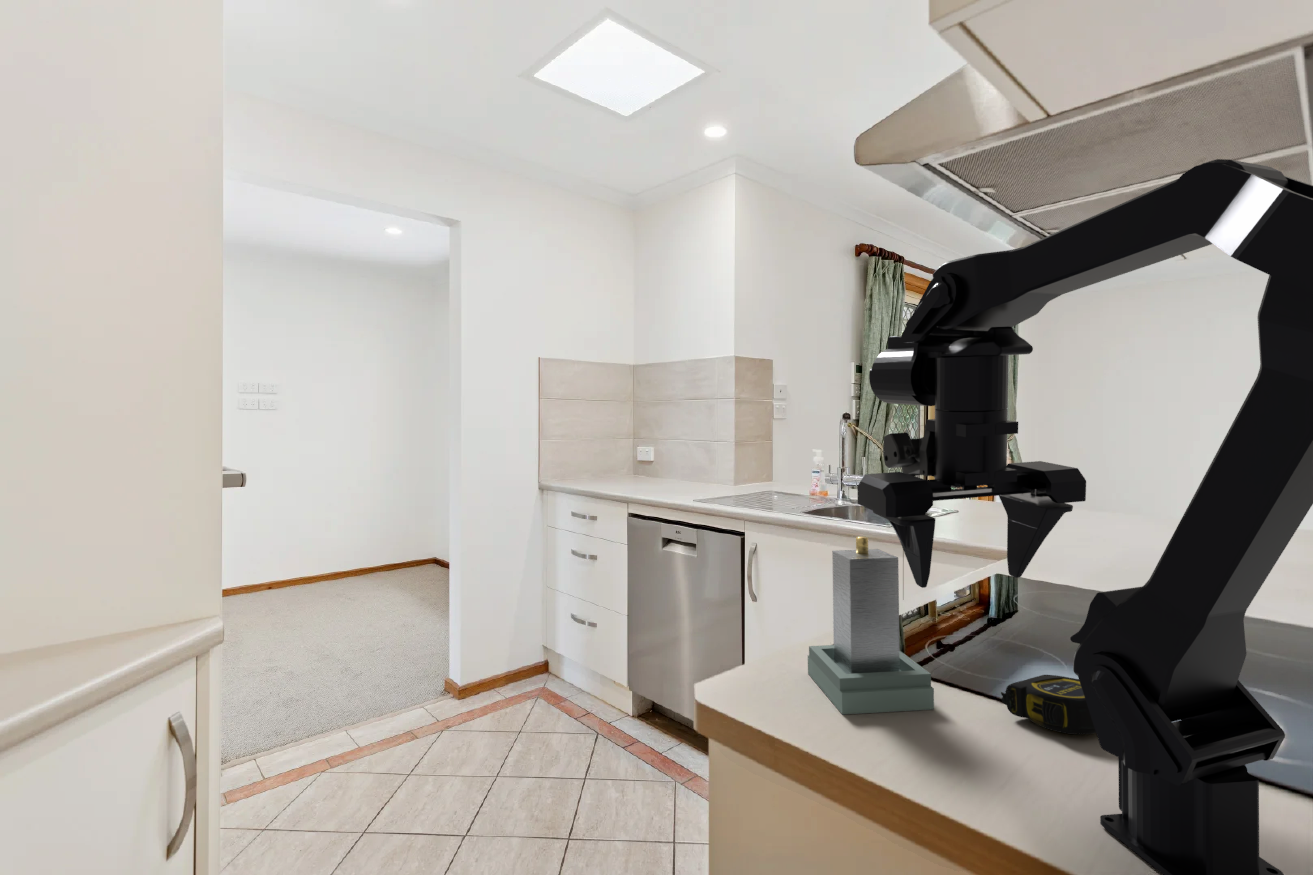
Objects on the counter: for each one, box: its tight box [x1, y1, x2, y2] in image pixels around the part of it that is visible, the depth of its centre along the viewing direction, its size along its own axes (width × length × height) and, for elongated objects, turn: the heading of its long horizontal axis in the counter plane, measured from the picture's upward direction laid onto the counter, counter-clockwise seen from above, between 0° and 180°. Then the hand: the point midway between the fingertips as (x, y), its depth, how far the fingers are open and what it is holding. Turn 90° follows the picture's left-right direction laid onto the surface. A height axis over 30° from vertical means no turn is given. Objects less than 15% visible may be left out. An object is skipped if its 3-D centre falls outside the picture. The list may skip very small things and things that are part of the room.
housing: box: [831, 536, 900, 674], centre depth 64 cm, size 4×5×14 cm
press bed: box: [807, 644, 935, 715], centre depth 65 cm, size 10×9×3 cm
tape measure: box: [1000, 674, 1096, 735], centre depth 57 cm, size 7×7×4 cm
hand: (968, 581), depth 57 cm, fingers open, 9 cm apart
